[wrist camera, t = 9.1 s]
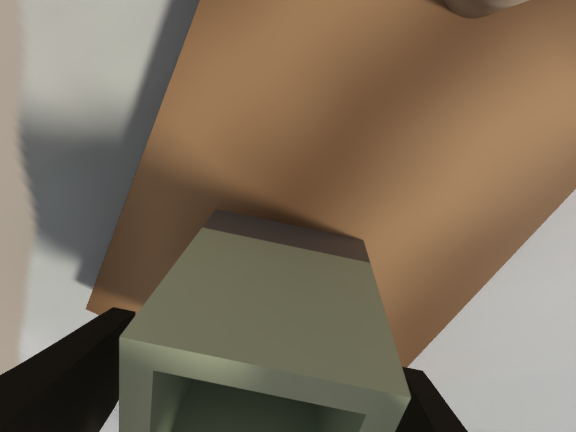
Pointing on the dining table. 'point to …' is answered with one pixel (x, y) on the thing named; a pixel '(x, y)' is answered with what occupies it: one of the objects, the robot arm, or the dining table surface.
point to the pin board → (361, 142)
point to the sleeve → (262, 337)
